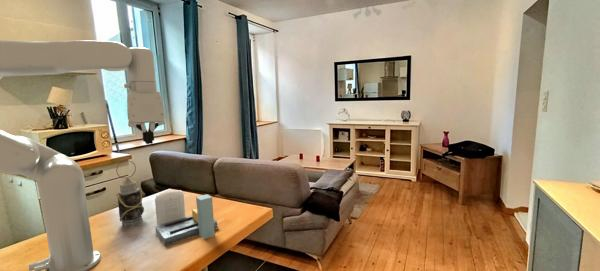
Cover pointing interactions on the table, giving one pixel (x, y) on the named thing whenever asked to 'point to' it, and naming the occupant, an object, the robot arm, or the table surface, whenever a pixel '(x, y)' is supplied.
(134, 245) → the table surface
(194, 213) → the block
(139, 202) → the lantern
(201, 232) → the post
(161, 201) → the photo printer
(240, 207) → the table surface
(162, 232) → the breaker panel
